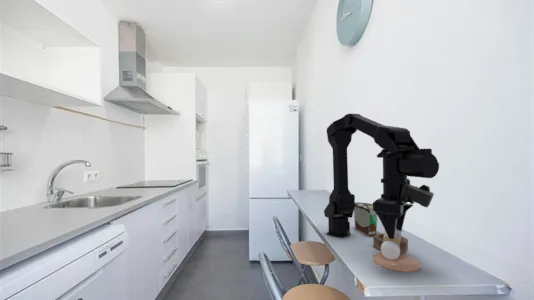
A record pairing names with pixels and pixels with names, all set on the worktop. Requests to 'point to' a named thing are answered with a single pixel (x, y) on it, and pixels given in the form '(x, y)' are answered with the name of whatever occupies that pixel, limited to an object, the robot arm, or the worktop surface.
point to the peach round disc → (398, 263)
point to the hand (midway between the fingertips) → (395, 234)
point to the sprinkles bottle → (391, 246)
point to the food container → (365, 218)
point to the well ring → (379, 240)
